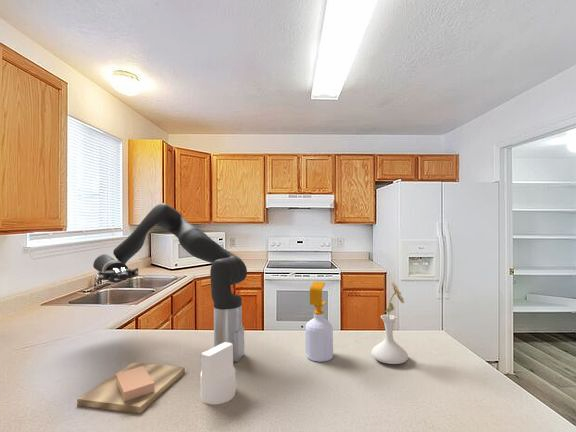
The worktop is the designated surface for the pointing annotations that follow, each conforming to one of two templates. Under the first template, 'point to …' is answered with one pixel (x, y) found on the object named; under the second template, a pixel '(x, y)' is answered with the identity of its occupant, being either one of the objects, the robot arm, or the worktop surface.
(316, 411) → the worktop surface
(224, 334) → the robot arm
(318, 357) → the soap bottle
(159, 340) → the worktop surface
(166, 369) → the board
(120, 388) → the tile
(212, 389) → the base with upright slab
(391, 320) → the flower in vase
